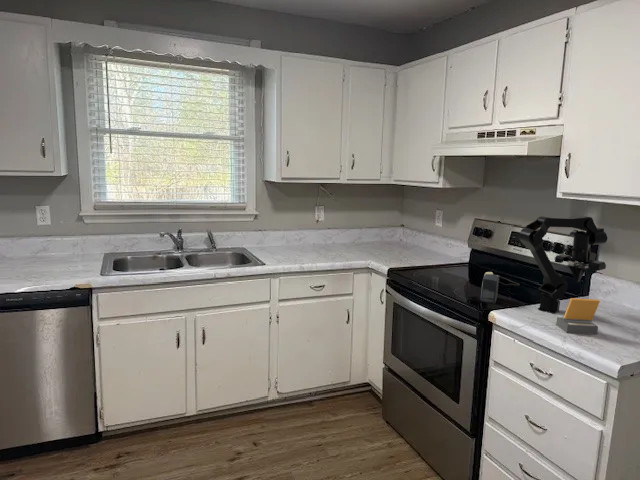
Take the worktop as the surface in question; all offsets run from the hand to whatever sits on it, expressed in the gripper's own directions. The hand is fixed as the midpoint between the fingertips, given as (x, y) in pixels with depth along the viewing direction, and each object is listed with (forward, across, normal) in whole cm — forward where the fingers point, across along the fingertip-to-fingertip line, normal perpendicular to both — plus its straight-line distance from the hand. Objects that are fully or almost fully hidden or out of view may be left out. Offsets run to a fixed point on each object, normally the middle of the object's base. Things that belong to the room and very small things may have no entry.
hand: (577, 281), depth 194 cm
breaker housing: (+11, -15, +24) cm, 30 cm away
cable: (+12, +45, -8) cm, 47 cm away
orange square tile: (+7, -15, +24) cm, 29 cm away
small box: (+10, +25, +25) cm, 37 cm away
